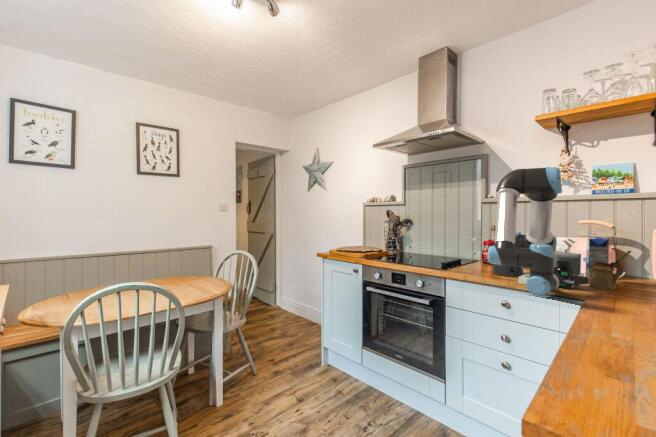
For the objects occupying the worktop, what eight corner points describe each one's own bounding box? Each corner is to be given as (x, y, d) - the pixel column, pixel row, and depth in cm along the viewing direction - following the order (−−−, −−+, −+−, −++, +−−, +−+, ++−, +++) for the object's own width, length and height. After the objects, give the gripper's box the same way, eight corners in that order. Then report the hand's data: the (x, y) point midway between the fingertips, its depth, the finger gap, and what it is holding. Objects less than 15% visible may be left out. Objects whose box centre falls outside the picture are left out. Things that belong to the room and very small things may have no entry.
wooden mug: (630, 293, 128) (631, 251, 128) (588, 287, 138) (589, 248, 138) (629, 289, 135) (631, 249, 134) (590, 284, 144) (591, 246, 144)
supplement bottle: (567, 290, 132) (568, 263, 132) (550, 286, 138) (550, 261, 138) (575, 288, 136) (575, 262, 135) (557, 285, 142) (558, 259, 141)
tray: (518, 283, 145) (518, 276, 145) (526, 280, 152) (526, 273, 152) (544, 287, 137) (544, 280, 137) (551, 284, 144) (551, 277, 144)
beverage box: (588, 283, 145) (589, 238, 144) (585, 279, 154) (586, 236, 153) (607, 286, 141) (609, 239, 140) (603, 281, 150) (604, 237, 149)
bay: (546, 287, 138) (547, 253, 138) (553, 283, 145) (554, 251, 145) (573, 291, 130) (574, 256, 130) (580, 287, 137) (581, 253, 137)
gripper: (514, 284, 133) (531, 277, 146) (588, 297, 113) (599, 288, 127) (515, 267, 133) (531, 262, 146) (588, 277, 113) (600, 270, 127)
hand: (563, 274), depth 136 cm, fingers open, 13 cm apart
